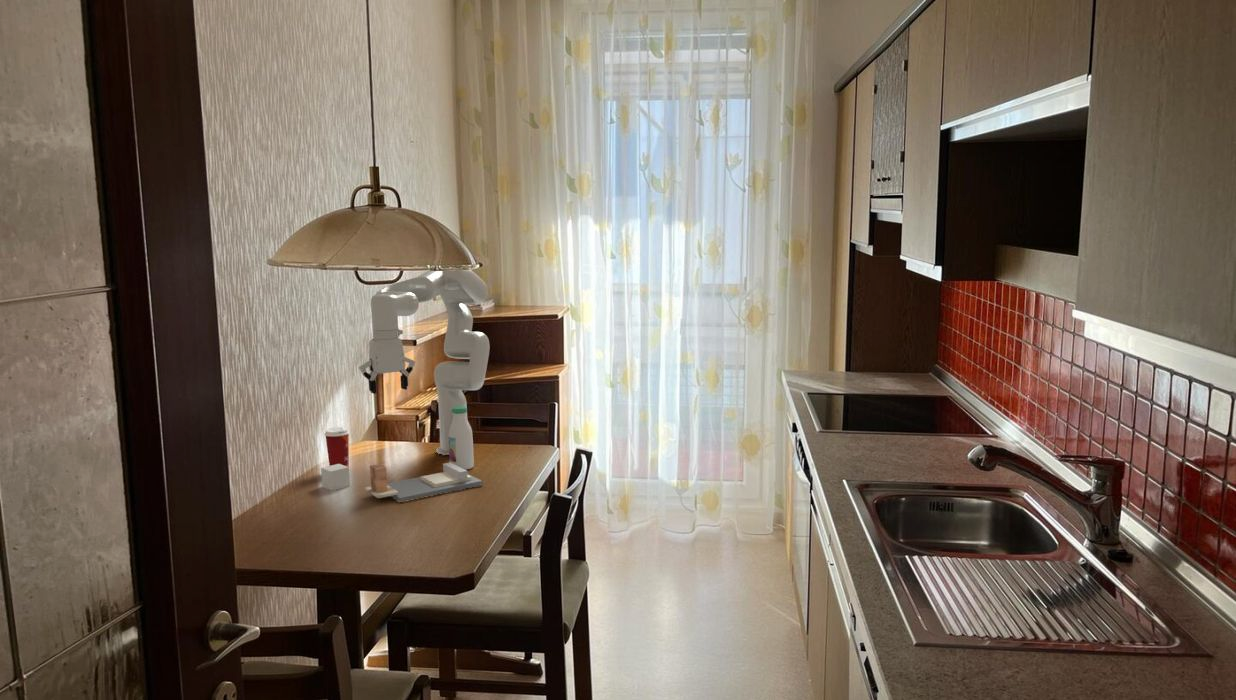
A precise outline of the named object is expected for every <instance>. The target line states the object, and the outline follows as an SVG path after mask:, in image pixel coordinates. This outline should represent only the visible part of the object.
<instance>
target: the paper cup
mask: <svg viewBox="0 0 1236 700" xmlns="http://www.w3.org/2000/svg"><path fill="white" fill-rule="evenodd" d="M350 433H351V432H350V431H349V429H348V428H347V427H346V426H338V427H335V426H334V427H330V428H327V429H325V433H324V436H325V441H326V448H327V457H328V465H329V466H331V465H336V464H341V465H344V466H347V467H349V466H350V464H349V463H350V462H349V461H350V458H349V457H350V456H349V454H350V453H349V452H350V451H349V449H350V448H349V447H350V446H349V445H350V443H349V439H350V438H349V437H350V436H349V434H350ZM349 468H350V467H349Z"/></svg>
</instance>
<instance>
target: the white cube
mask: <svg viewBox="0 0 1236 700" xmlns="http://www.w3.org/2000/svg"><path fill="white" fill-rule="evenodd" d="M320 472H321V485H322V486H321V487H322V488H324V489H328V490H329V491H336V490H339V489H343V488H347V487H351V479H350V467H347V466H344V465H341V464H336V465H331V466H323V467H320Z"/></svg>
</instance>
